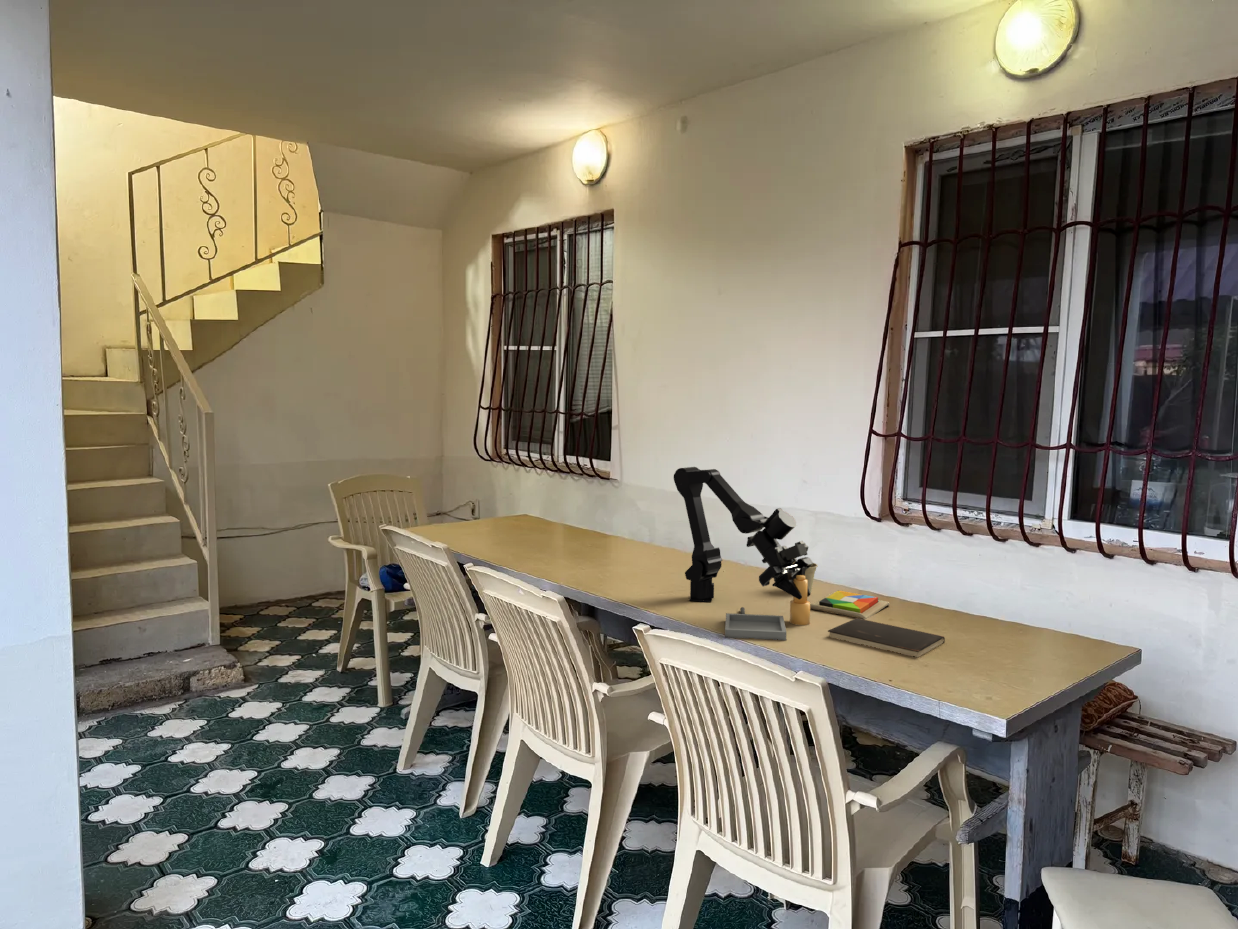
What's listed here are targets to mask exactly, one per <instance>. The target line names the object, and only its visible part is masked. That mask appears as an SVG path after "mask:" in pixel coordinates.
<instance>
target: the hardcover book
mask: <svg viewBox="0 0 1238 929" xmlns="http://www.w3.org/2000/svg"><path fill="white" fill-rule="evenodd" d="M827 632H828V633H829V638H830V639H831V638H832V639H835V638H838V639H837V640H840V639H841V640H840V641H844V640H846V641H845V642H848V641H849V643H852V644H853V643H854V644H858V645H861V644H864V645H863V646H866V645H868V646H867V647H870V646H872V647H871V648H874V647H876V649H879V648H880V649H879V650H882V651H883V650H884V651H887V650H890V651H889V652H892V651H894V652H893V653H896V652H898V653H897V654H900V653H901V655H905V656H909V657H913V656H915V657H914V658H919V657H921V656H922V655H923V656H924V655H925V654H926V653H928V652H930V651H931V650H933V649H935V648H937V647H938V646H940V645H942V644H944V643H945V642H946V641H945V639H946V638H945V636H944V635H939V634H934V633H929V632H925V631H920V630H915V629H910V628H906V627H902V626H901V627H900V626H896V625H891V624H886V623H881V622H877V621H872V620H869V619H861V618H856V617H855V618H853V619H852V620H849V621H847V622H845V623H842V624H840V625H837V626H835V627H833V628H830V629H828V630H827Z"/></svg>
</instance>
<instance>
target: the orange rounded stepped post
mask: <svg viewBox="0 0 1238 929" xmlns="http://www.w3.org/2000/svg"><path fill="white" fill-rule="evenodd" d="M794 583H795V585H796V587H797V588H798V590H799V591H800V593H801V595H802V598H801V599H797V598H796V597H794V596H792V597H793V598H792V600H790V602H789V623H790V624H792V625H796V626H807V625H810V622H811V609H810V604H811V602H810V601H809V600H808V597H807V588H808V580H807V579H805V576H804V575H797V576H796V579H794Z"/></svg>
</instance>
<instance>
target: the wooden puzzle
mask: <svg viewBox="0 0 1238 929" xmlns="http://www.w3.org/2000/svg"><path fill="white" fill-rule="evenodd" d="M889 606H891V603H890V602H889V601H886V600H880V599H879V597H876V596H871V595H866V594H862V593H861V594H860V593H856V592H855V593H854V592H849V591H843V590H837V591H835V592H834V591H832V592H830V593H829V594H826V595H825V596H824V597H822V598H820V599H818V600H817V601H815V602H814V603H810V610H815V611H819V612H820V611H821V612H826V613H830V614H835V615H841V616H847V617H850V618H851V617H852V618H855V619H856V618H859V619H864V620H868V619H869V618H871V617H873V616H874V615H876V614H877V613H878V612H880V611H881V610H882V609H884V608H886V607H889Z"/></svg>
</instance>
